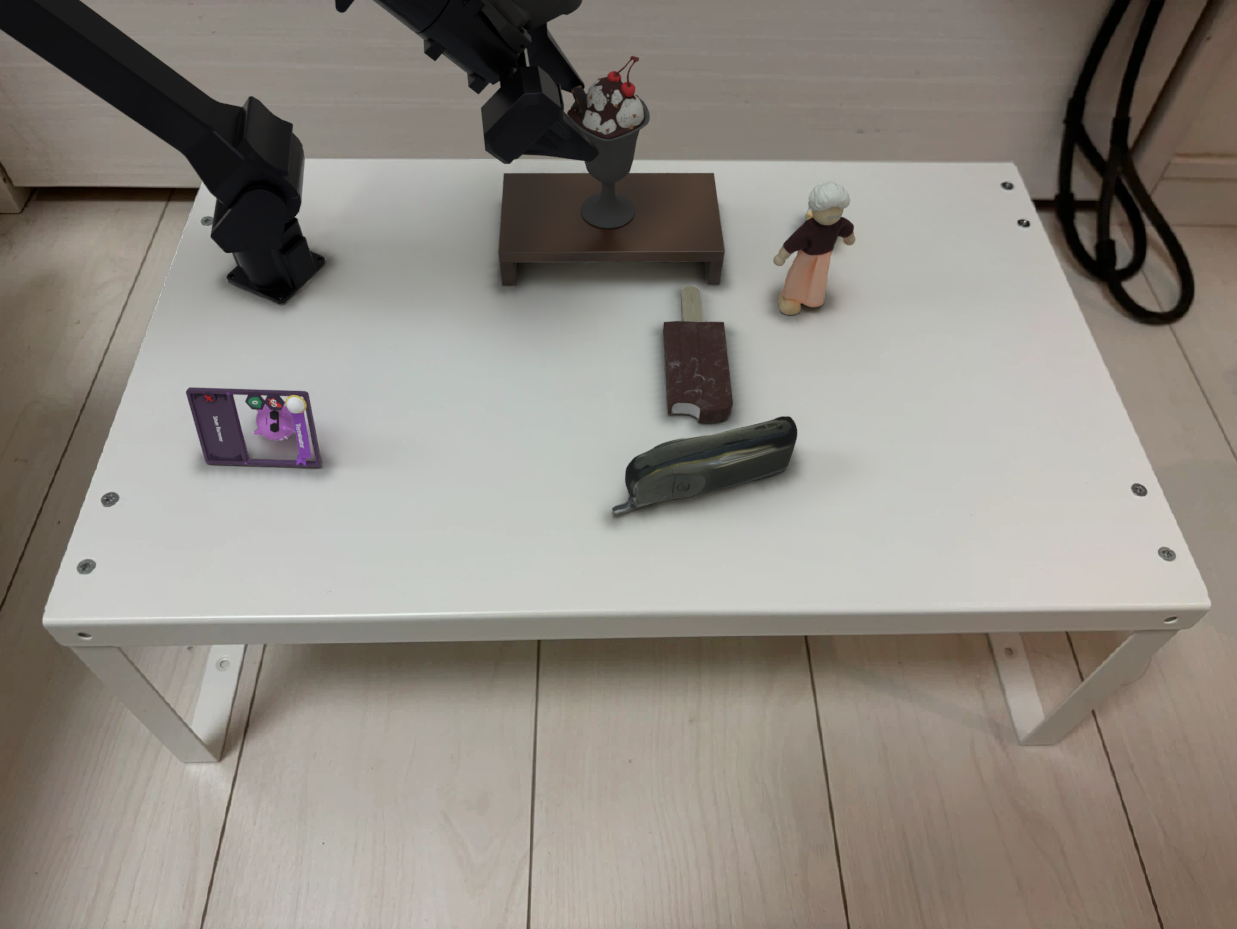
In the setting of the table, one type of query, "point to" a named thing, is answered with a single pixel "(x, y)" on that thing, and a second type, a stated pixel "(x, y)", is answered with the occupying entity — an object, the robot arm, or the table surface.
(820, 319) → the table surface
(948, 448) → the table surface
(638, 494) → the swiss army knife
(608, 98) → the sundae
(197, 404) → the game card
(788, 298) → the grandmother figurine
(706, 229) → the shelf
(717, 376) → the ice cream bar
